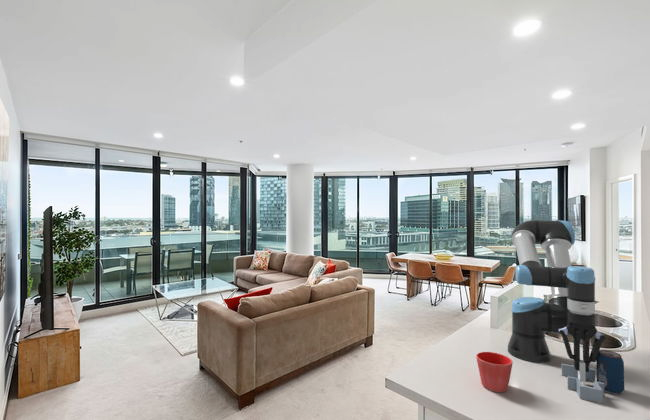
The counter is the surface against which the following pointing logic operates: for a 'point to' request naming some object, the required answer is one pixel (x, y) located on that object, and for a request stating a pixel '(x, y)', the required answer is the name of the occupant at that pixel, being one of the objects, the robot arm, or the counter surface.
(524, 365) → the counter surface
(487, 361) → the flower pot
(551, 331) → the robot arm
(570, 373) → the channel
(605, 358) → the soda can
